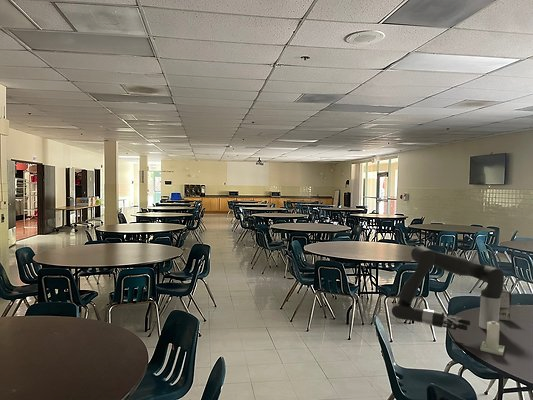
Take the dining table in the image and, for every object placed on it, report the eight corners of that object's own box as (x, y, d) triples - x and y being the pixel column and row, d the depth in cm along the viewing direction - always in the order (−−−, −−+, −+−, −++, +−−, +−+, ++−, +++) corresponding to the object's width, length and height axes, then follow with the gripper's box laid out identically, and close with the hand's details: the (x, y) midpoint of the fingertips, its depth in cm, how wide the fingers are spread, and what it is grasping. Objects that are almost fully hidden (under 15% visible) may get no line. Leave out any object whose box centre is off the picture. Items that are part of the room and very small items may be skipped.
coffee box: (510, 320, 229) (512, 293, 229) (498, 319, 231) (499, 292, 230) (504, 315, 238) (505, 289, 238) (492, 314, 240) (494, 288, 239)
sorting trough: (482, 344, 193) (482, 341, 193) (504, 349, 188) (504, 346, 188) (480, 350, 185) (480, 347, 185) (502, 355, 180) (502, 352, 180)
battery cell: (486, 345, 190) (488, 319, 189) (498, 348, 187) (500, 321, 187) (485, 349, 186) (486, 321, 185) (497, 351, 183) (499, 324, 183)
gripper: (430, 314, 195) (466, 321, 186) (436, 307, 207) (471, 314, 198) (429, 329, 196) (465, 337, 186) (435, 321, 207) (470, 329, 198)
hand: (468, 325), depth 192 cm, fingers open, 8 cm apart
